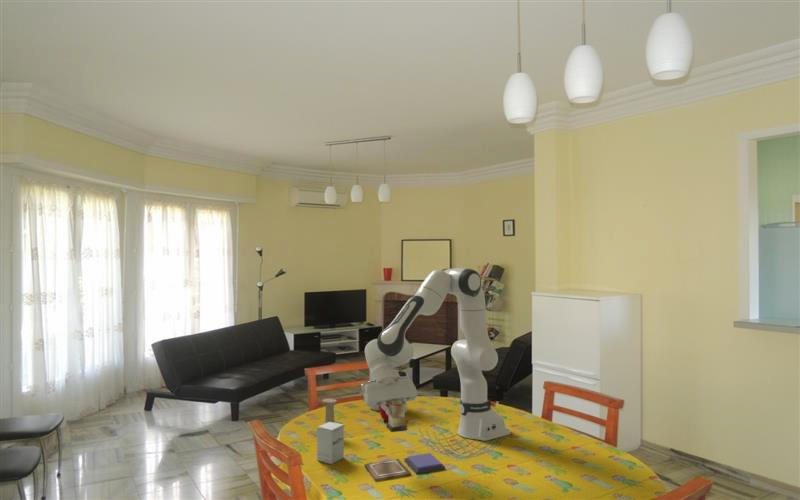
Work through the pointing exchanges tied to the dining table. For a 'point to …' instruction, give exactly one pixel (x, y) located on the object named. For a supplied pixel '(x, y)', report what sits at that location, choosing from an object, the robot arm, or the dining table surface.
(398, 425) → the wooden stamp
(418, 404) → the dining table surface
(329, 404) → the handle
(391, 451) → the dining table surface
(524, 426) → the dining table surface
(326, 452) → the supplement box
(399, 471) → the marked board
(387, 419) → the apple
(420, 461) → the ink pad
